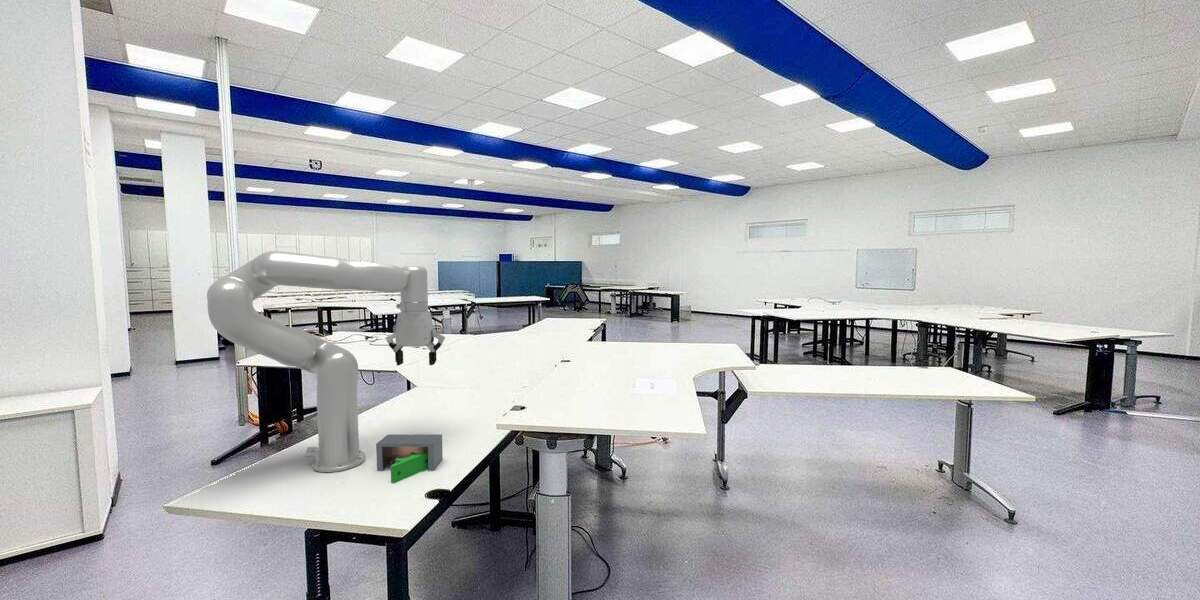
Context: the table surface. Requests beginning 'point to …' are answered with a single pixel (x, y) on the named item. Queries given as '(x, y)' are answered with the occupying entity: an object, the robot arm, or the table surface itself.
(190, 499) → the table surface
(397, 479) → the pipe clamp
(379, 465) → the grey sleeve
